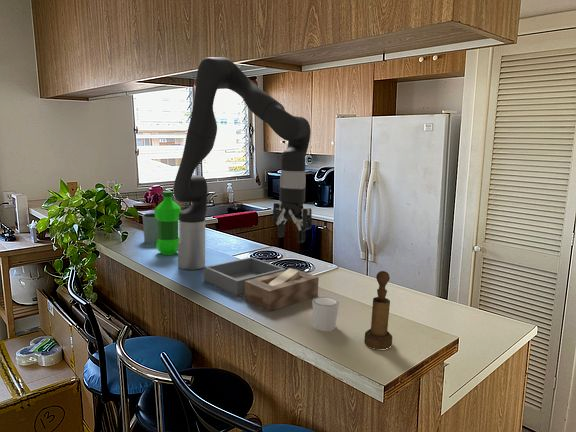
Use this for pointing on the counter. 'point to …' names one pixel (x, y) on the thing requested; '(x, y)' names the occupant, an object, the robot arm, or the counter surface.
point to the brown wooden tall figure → (379, 317)
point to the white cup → (325, 313)
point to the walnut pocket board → (280, 291)
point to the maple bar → (286, 277)
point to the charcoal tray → (238, 274)
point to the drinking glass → (150, 228)
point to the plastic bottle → (167, 224)
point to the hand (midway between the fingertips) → (290, 239)
